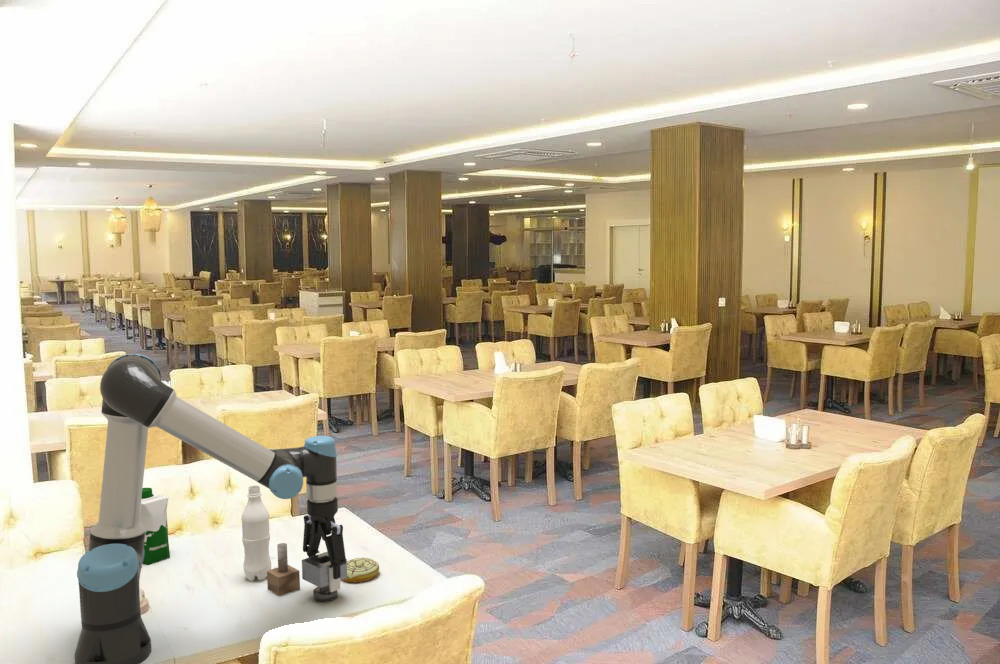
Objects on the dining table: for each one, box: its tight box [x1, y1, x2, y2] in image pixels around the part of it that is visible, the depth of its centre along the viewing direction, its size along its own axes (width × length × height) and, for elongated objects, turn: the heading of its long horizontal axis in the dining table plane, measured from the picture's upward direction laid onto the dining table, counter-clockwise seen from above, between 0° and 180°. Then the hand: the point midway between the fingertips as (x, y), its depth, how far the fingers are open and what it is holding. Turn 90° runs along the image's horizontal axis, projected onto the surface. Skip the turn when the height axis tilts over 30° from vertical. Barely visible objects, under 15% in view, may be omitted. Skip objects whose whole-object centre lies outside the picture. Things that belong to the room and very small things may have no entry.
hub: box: [312, 585, 339, 604], centre depth 205 cm, size 6×6×6 cm
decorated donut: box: [342, 557, 380, 584], centre depth 219 cm, size 10×11×4 cm
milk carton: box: [139, 487, 171, 566], centre depth 231 cm, size 9×9×20 cm
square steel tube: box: [301, 550, 348, 588], centre depth 204 cm, size 8×8×5 cm
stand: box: [266, 542, 301, 597], centre depth 210 cm, size 6×6×12 cm
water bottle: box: [240, 485, 272, 582], centre depth 217 cm, size 7×7×25 cm
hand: (324, 585), depth 205 cm, fingers closed on square steel tube, 8 cm apart
